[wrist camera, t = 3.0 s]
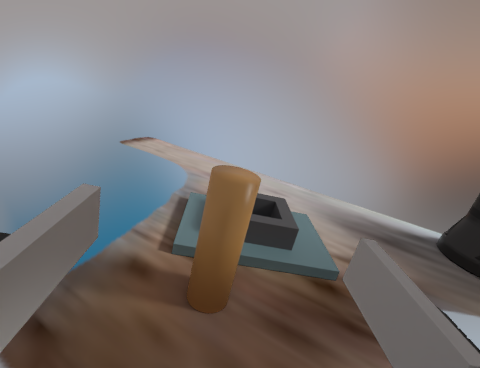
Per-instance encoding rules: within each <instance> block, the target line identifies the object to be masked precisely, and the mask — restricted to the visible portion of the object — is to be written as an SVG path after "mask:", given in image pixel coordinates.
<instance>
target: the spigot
mask: <svg viewBox="0 0 480 368" xmlns="http://www.w3.org/2000/svg"><path fill="white" fill-rule="evenodd" d="M260 182H261V179H260V177H259V176H257V175H256V174H254V173H253V172H251V171H248V170H246V169H242V168H239V167H234V166H226V165H221V166H215V167H213V168H212V171H211V176H210V181H209V186H208V191H207V196H206V201H205V206H204V211H203V216H202V221H201V225H200V230H199V235H198V240H197V245H196V250H195V255H194V260H193V265H192V270H191V275H190V280H189V285H188V290H187V300H188V302H189V304H190V305H191V306H192V307H193V308H194V309H196V310H198V311H200V312H203V313H216V312H219V311H221V310H222V309H223V308H224V307H225V306H226V304H227V302H228V298H229V294H230V291H231V287H232V283H233V280H234V276H235V273H236V269H237V265H238V262H239V258H240V255H241V251H242V247H243V244H244V240H245V236H246V233H247V229H248V226H249V222H250V218H251V215H252V211H253V207H254V204H255V200H256V197H257V193H258V189H259V186H260Z"/></svg>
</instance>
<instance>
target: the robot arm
mask: <svg viewBox="0 0 480 368" xmlns="http://www.w3.org/2000/svg"><path fill="white" fill-rule="evenodd" d="M100 189H101V188H100V187H98V186H93V185H88V184H82V185H81V186H79V187H78V188H76V189H75V190H73V191H72V192H71V193H69V194H68V195H66V196H65V197H63V198H62V199H61V200H59V201H58V202H56V203H55V204H54V205H52V206H51V207H49V208H48V209H46V210H45V211H44V212H42V213H41V214H39V215H38V216H37V217H35V218H34V219H32V220H31V221H29V222H28V223H26V224H25V225H23V226H22V227H21V228H19V229H18V230H16V231H15V232H14V233H12V234H7V233H0V353H1V352H2V350H3V349H4V348H5V347H6V346H7V344H8V343H9V342H10V341H11V340H12V339H13V337H14V336H15V335H16V334H17V333H18V331H19V330H20V329H21V328H22V327H23V325H24V324H25V323H26V322H27V321H28V320H29V318H30V317H31V316H32V315H33V314H34V312H35V311H36V310H37V309H38V308H39V306H40V305H41V304H42V303H43V302H44V301H45V299H46V298H47V297H48V296H49V295H50V293H51V292H52V291H53V290H54V289H55V287H56V286H57V285H58V284H59V283H60V282H61V280H62V279H63V278H64V277H65V276H66V274H67V273H68V272H69V271H70V270H71V268H72V267H73V266H74V265H75V264H76V263H77V261H78V260H79V259H80V258H81V256H82V255H83V254H84V253H85V252H86V251H87V249H88V248H89V247H90V246H91V245H92V244H93V242H94V241H95V240H96V239H97V237H98V223H99V206H100ZM437 246H438V248H439V249H440V250H441V251H442V252H443V253H444V254H445V255H446V256H447V257H448V258H449V259H451V260H452V261H454V262H455V263H456V264H458V265H459V266H461V267H463V268H464V269H466V270H468V271H469V272H471V273H473V274H475V275H477V276H479V277H480V194H479V195H478V197H477V199H476V200H475V202H474V203H473V205H472V207H471V209H470V210H469V212H468V213H467V215H466V216H465V217H463V218H462V219H461V220H460V221H459V222H457V223H456V224H455V225H453V226H452V227H451V228H450V229H449V230H448V231H446V232H444V233H443V234H442V236H441V237H440V239H439V241H438V242H437ZM342 280H343V282H344V283H345V285H346V287H347V289H348V290H349V292H350V294H351V295H352V297H353V299H354V301H355V302H356V304H357V306H358V308H359V309H360V311H361V313H362V315H363V316H364V318H365V320H366V322H367V323H368V325H369V327H370V329H371V330H372V332H373V334H374V336H375V337H376V339H377V341H378V343H379V344H380V346H381V348H382V349H383V351H384V353H385V355H386V356H387V358H388V360H389V362H390V363H391V365H392V367H393V368H480V350H479V349H478V348H477V347H476V346H475V345H474V344H473V342H472V341H471V340H470V339H468V338H467V336H466V335H465V334H464V333H463V332H462V331H461V330H460V329H458V328H457V325H456V324H455V323H454V322H453V321H452V320H451V319H450V318H449V317H448V316H447V315H446V314H445V313H444V312H443V311H441V310H440V309H439V308H438V307H436V306H435V305H434V304H433V303H432V302H431V301H430V299H429V298H428V297H427V296H426V295H425V294H424V293H423V292H422V291H421V290H420V289H419V288H418V286H417V285H416V284H415V283H414V282H413V281H412V280H411V279H410V278H409V277H408V276H407V275H406V273H405V272H404V271H403V270H402V269H401V268H400V267H399V266H398V265H397V264H396V263H395V262H394V260H393V259H392V258H391V257H390V256H389V255H388V254H387V253H386V252H385V251H384V250H383V249H382V247H381V246H380V245H379V244H378V243H377V242H376V241H375V240H371V239H366V238H361V240H360V242H359V244H358V246H357V248H356V251H355V253H354V255H353V257H352V259H351V261H350V264H349V266H348V268H347V270H346V272H345V274H344V277H343V279H342Z"/></svg>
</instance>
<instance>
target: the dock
mask: <svg viewBox="0 0 480 368" xmlns="http://www.w3.org/2000/svg"><path fill="white" fill-rule="evenodd" d="M206 196H207V195H203V194H197V193H192V192H191V194H190V196H189V199H188V202H187V205H186V208H185V211H184V214H183V217H182V220H181V223H180V226H179V229H178V232H177V235H176V237H175V240H174V243H173V249H172V254H177V255H183V256H189V257H194V255H195V250H196V245H197V240H198V235H199V230H200V225H201V221H202V216H203V211H204V206H205V201H206ZM238 265H244V266H250V267H256V268H262V269H268V270H274V271H281V272H287V273H293V274H299V275H305V276H311V277H317V278H323V279H329V280H335V281H336V278H337V276H338V274H339V270H338V268H337V266H336V265H335V263H334V261H333V259H332V258H331V256H330V254H329V252H328V251H327V249H326V247H325V246H324V244H323V242H322V240H321V239H320V237H319V235H318V233H317V232H316V230H315V228H314V226H313V225H312V223H311V221H310V219H309V218H308V216H307V215H306V214H301V213H296V212H291V211H290V209H289V207H288V205H287V202H286V200H285V199H284V198H278V197H273V196H268V195H263V194H258V193H257V197H256V200H255V204H254V207H253V211H252V215H251V218H250V222H249V226H248V229H247V233H246V236H245V240H244V244H243V247H242V251H241V255H240V258H239V262H238Z"/></svg>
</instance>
